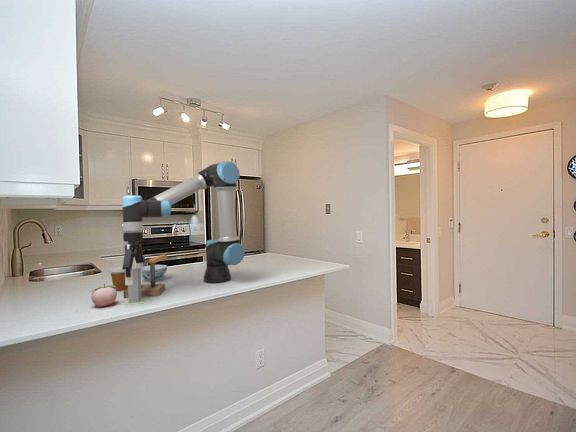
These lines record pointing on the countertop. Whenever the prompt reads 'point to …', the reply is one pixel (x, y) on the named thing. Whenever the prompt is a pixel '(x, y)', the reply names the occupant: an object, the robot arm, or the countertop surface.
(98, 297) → the decorative fruit
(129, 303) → the mat
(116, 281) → the disposable coffee cup
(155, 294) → the socket block
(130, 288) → the gray square post
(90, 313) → the countertop surface
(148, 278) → the chinaware
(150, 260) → the clip
